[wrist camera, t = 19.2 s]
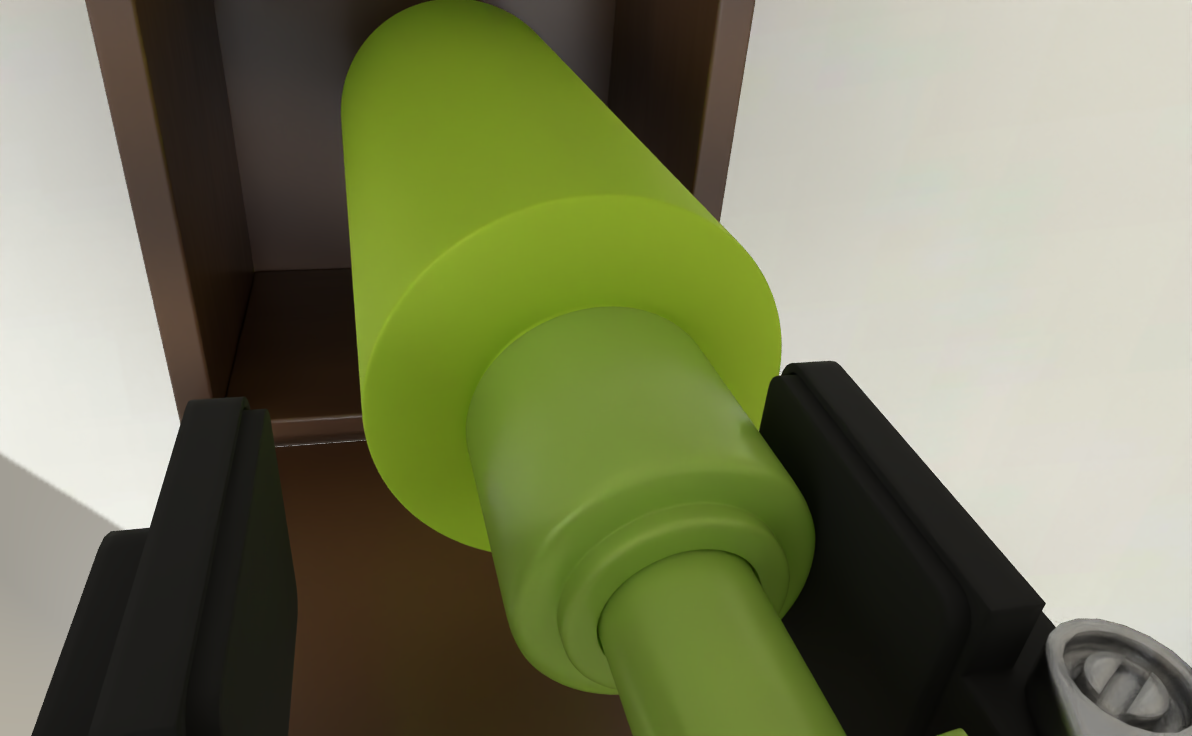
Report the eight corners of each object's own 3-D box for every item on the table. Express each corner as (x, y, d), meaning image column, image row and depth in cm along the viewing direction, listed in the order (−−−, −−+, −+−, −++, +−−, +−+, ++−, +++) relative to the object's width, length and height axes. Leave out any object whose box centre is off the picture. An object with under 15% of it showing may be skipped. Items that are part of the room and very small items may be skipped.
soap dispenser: (276, 4, 20) (83, 885, 4) (567, -7, 21) (1346, 573, 5) (319, 238, 23) (316, 1260, 7) (568, 214, 24) (1052, 998, 8)
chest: (141, -269, 22) (12, -317, 14) (654, -216, 25) (794, -230, 17) (233, 283, 30) (186, 454, 22) (610, 271, 33) (689, 417, 25)
